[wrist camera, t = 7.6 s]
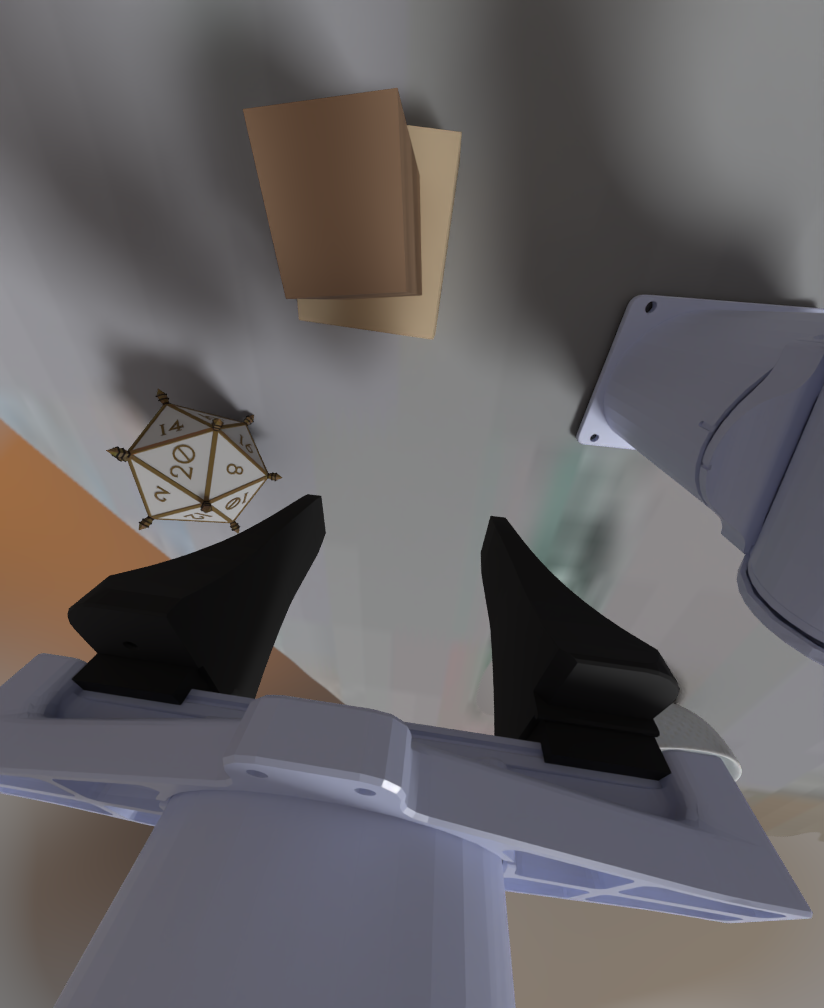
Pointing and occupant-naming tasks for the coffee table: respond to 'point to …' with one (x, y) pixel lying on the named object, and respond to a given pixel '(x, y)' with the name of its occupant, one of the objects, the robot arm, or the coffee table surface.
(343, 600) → the coffee table surface
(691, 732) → the cereal bowl
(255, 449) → the game die
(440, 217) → the oak base block
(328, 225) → the walnut block
